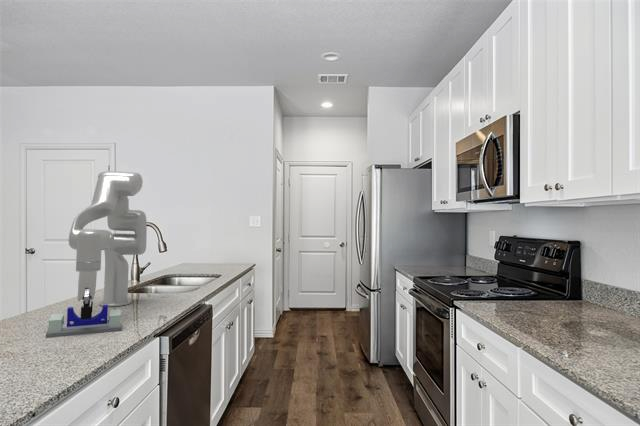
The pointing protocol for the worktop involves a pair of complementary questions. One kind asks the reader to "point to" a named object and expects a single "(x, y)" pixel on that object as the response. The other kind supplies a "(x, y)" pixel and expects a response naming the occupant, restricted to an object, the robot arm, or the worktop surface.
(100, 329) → the board
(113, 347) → the worktop surface
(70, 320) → the cable clip
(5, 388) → the worktop surface
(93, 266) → the robot arm
